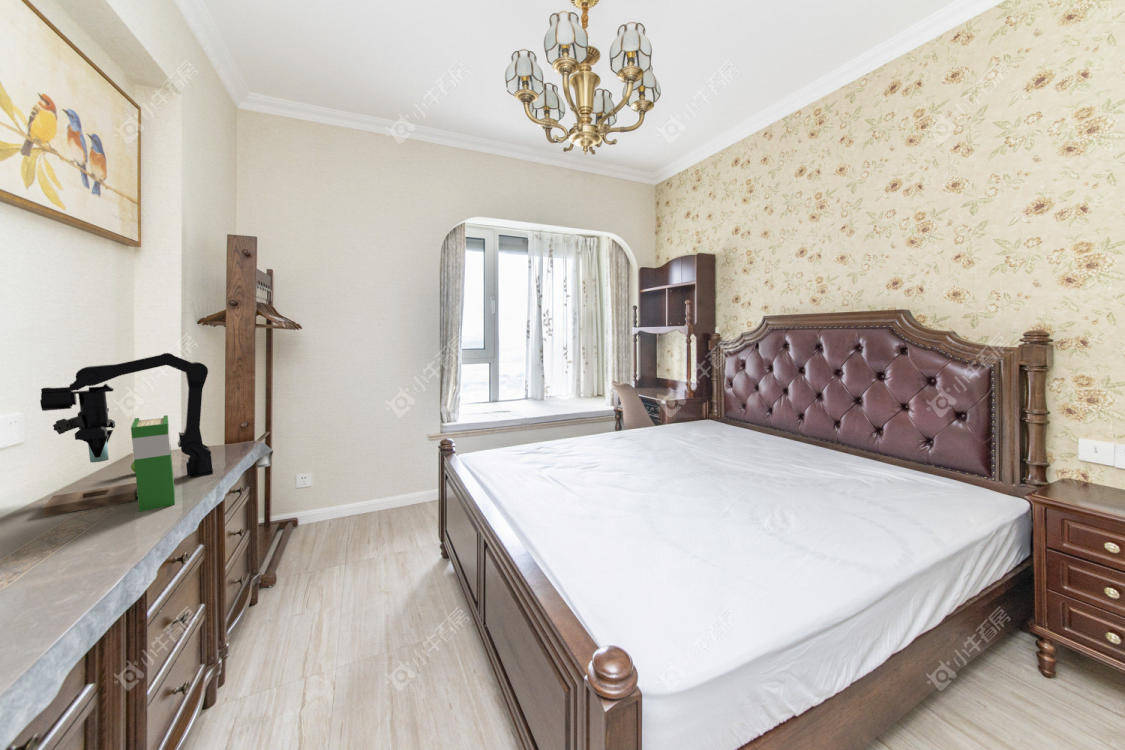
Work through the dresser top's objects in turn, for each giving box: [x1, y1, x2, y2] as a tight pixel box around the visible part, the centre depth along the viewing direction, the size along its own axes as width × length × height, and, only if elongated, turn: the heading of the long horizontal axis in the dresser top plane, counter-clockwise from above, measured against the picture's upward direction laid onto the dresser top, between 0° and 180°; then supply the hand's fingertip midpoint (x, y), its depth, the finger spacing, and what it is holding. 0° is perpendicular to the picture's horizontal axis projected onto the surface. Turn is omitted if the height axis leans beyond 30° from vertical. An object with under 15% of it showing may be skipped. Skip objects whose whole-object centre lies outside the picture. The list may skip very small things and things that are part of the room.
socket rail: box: [41, 482, 138, 517], centre depth 128 cm, size 18×11×2 cm, turn 129°
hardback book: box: [130, 414, 176, 513], centre depth 129 cm, size 18×7×24 cm, turn 42°
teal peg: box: [87, 441, 110, 463], centre depth 136 cm, size 4×4×6 cm
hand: (99, 455), depth 136 cm, fingers closed on teal peg, 4 cm apart
